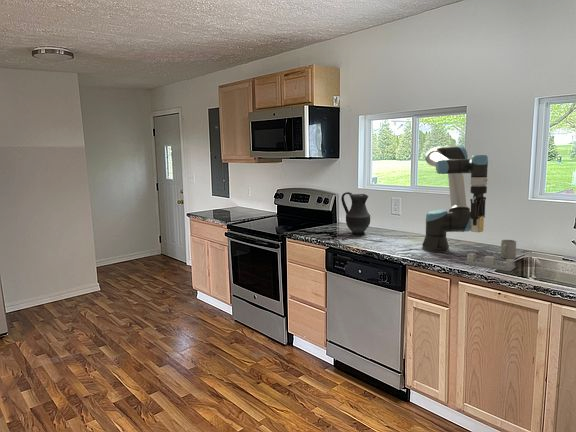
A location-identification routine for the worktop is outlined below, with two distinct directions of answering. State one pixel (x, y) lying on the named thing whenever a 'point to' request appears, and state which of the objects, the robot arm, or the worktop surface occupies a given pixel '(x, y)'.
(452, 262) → the worktop surface
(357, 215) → the pitcher
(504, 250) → the cup
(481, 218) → the block
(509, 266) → the rail
